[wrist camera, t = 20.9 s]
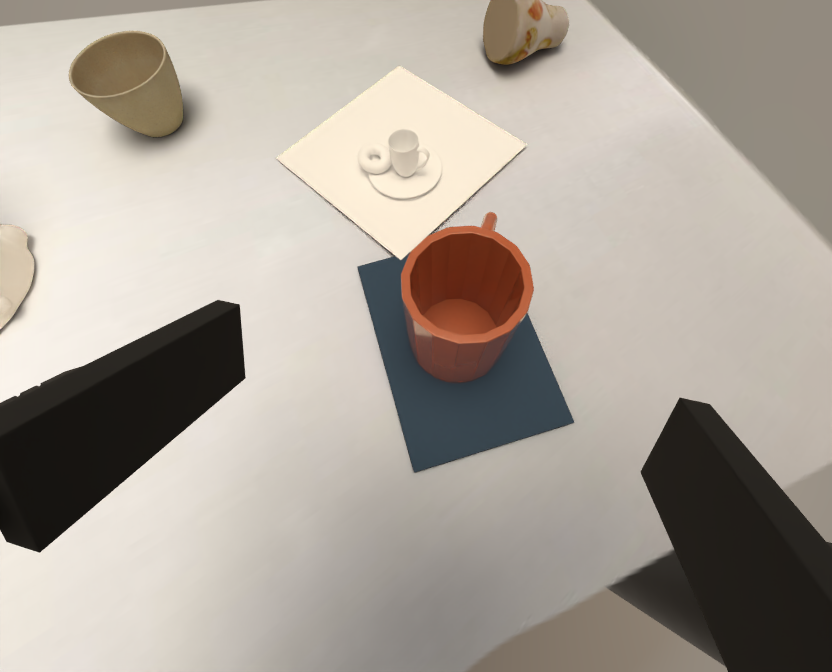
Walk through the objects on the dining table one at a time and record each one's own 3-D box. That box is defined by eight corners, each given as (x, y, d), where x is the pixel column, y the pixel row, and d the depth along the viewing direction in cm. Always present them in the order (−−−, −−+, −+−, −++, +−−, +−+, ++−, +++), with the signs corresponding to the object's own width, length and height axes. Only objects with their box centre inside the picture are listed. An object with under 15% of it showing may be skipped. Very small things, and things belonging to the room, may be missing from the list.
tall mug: (488, 396, 33) (513, 361, 23) (397, 365, 34) (382, 319, 24) (521, 283, 36) (556, 209, 26) (437, 259, 38) (439, 179, 27)
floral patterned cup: (578, 57, 47) (575, -5, 38) (502, 100, 51) (484, 52, 42) (558, 4, 48) (552, -70, 39) (486, 50, 52) (464, -7, 43)
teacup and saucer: (349, 170, 42) (340, 139, 38) (400, 130, 44) (396, 96, 40) (406, 214, 40) (403, 185, 36) (457, 169, 42) (459, 137, 38)
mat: (572, 423, 33) (574, 422, 32) (414, 472, 32) (414, 472, 31) (490, 232, 39) (491, 229, 39) (358, 269, 38) (357, 266, 38)
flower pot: (220, 115, 46) (184, 55, 40) (153, 167, 44) (103, 112, 37) (170, 80, 49) (128, 17, 42) (104, 127, 46) (49, 68, 40)
